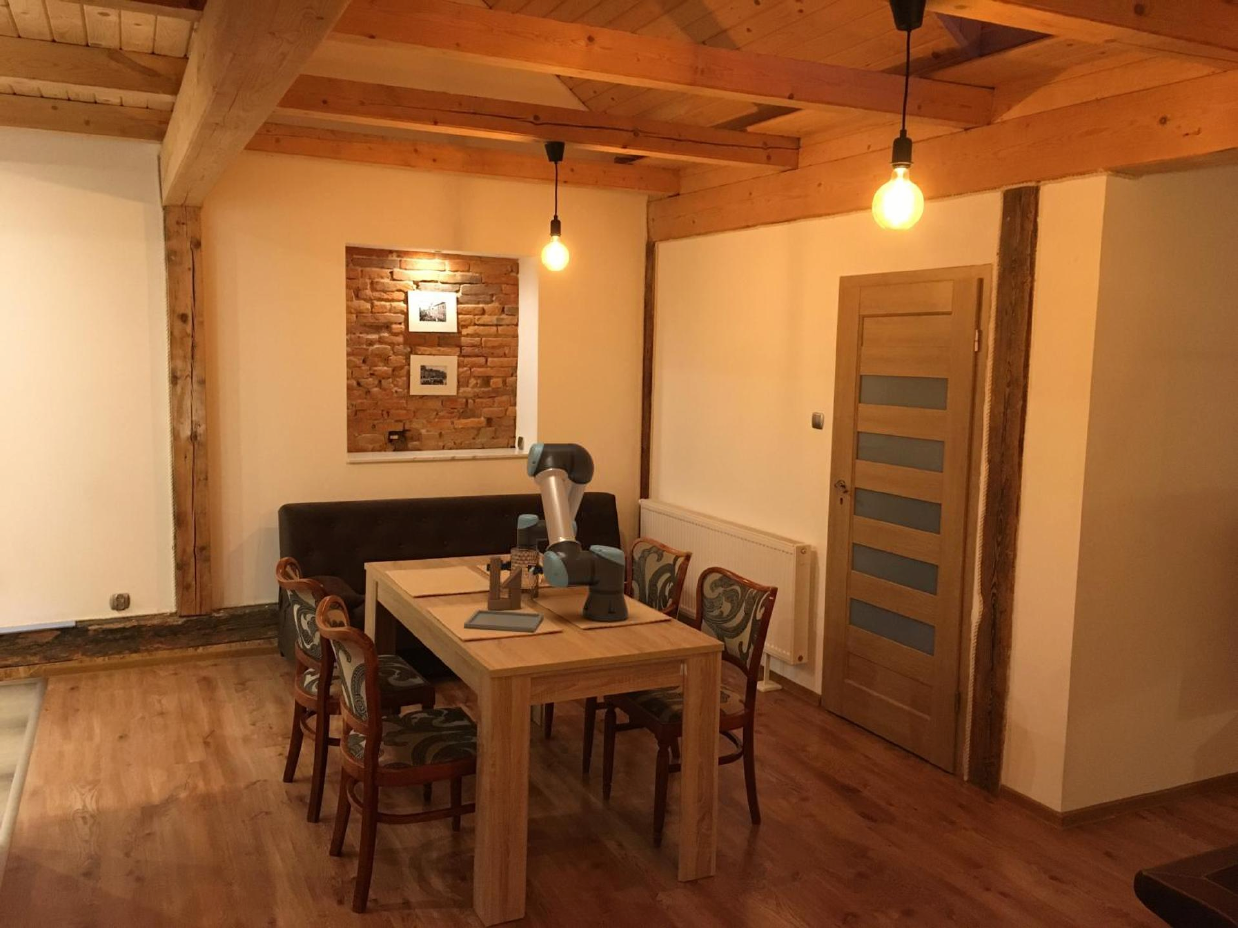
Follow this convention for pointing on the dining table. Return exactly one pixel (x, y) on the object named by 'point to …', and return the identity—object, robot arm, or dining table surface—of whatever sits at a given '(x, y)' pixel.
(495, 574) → the wooden block
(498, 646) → the dining table surface
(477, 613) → the slate tray
